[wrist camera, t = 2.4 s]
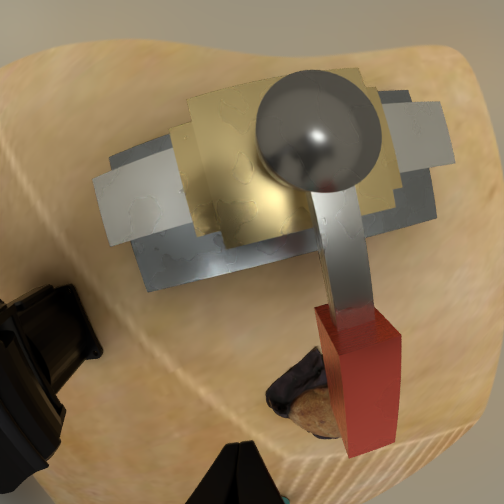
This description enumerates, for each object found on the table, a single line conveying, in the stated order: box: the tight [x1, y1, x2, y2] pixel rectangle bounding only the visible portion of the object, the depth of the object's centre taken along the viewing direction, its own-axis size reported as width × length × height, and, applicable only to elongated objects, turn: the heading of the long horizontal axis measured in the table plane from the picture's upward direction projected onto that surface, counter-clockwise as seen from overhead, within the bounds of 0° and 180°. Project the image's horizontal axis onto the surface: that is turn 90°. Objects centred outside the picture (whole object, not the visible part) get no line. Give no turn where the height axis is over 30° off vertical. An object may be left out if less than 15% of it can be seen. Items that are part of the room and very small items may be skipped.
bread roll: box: [266, 348, 342, 439], centre depth 20 cm, size 11×8×4 cm
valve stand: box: [92, 68, 455, 292], centre depth 13 cm, size 9×20×9 cm, turn 104°
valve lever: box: [255, 70, 401, 458], centre depth 8 cm, size 12×3×3 cm, turn 14°
